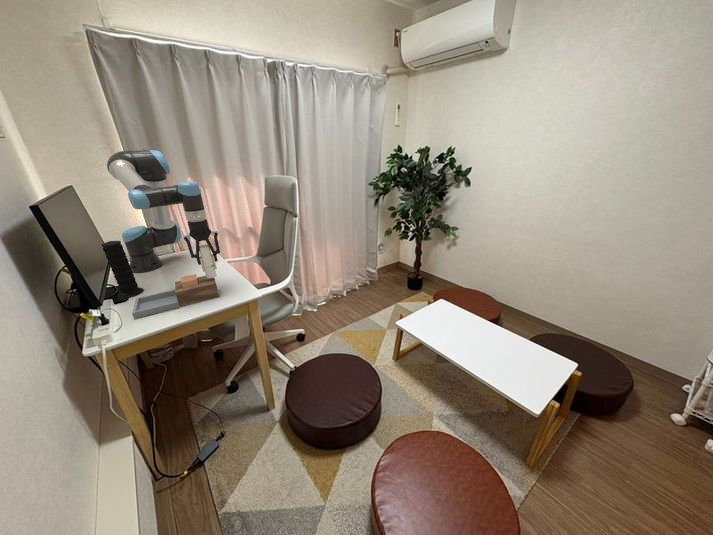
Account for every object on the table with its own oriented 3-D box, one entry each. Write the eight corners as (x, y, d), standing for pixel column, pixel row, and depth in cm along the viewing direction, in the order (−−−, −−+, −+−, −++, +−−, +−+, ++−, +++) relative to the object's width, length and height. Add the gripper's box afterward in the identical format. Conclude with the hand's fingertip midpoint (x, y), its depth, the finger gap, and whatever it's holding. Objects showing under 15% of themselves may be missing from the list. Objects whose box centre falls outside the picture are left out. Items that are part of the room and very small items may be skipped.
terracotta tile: (182, 283, 126) (181, 277, 125) (197, 279, 129) (196, 274, 127) (183, 288, 121) (181, 282, 120) (198, 284, 124) (196, 278, 123)
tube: (207, 279, 126) (199, 248, 120) (205, 276, 129) (197, 245, 123) (217, 276, 128) (210, 246, 122) (215, 273, 131) (208, 243, 125)
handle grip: (132, 298, 127) (149, 288, 136) (110, 245, 116) (130, 237, 125) (112, 298, 128) (130, 287, 137) (88, 244, 117) (110, 237, 126)
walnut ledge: (179, 295, 130) (175, 282, 127) (216, 286, 137) (213, 274, 134) (179, 306, 120) (175, 293, 117) (219, 297, 128) (216, 283, 125)
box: (138, 303, 123) (135, 298, 122) (179, 294, 131) (177, 288, 129) (134, 319, 112) (131, 313, 111) (179, 307, 120) (177, 302, 118)
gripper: (173, 224, 110) (188, 276, 120) (220, 218, 118) (231, 268, 128) (173, 220, 116) (188, 270, 126) (218, 215, 124) (228, 262, 134)
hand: (209, 269), depth 127 cm, fingers closed on tube, 4 cm apart
